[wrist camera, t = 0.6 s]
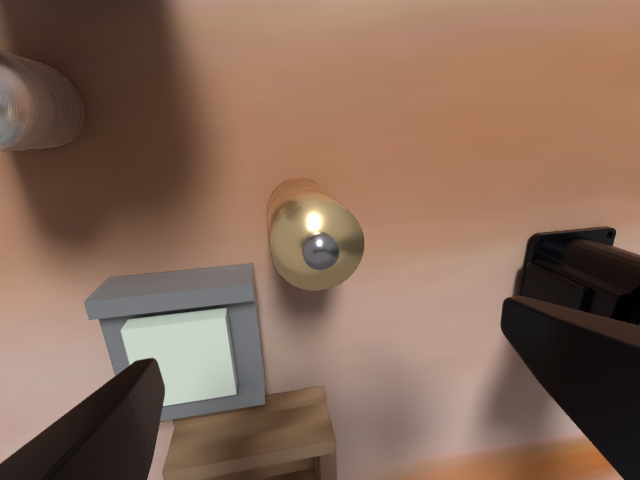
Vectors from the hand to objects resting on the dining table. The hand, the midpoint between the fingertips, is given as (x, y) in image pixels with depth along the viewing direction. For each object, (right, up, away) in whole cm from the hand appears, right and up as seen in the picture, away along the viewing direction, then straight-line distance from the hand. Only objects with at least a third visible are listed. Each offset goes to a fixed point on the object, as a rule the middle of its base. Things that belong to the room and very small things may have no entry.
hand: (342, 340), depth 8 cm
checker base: (-8, -3, +12) cm, 15 cm away
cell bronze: (-2, +4, +11) cm, 12 cm away
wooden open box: (-5, -12, +16) cm, 21 cm away
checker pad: (-8, -4, +10) cm, 13 cm away
